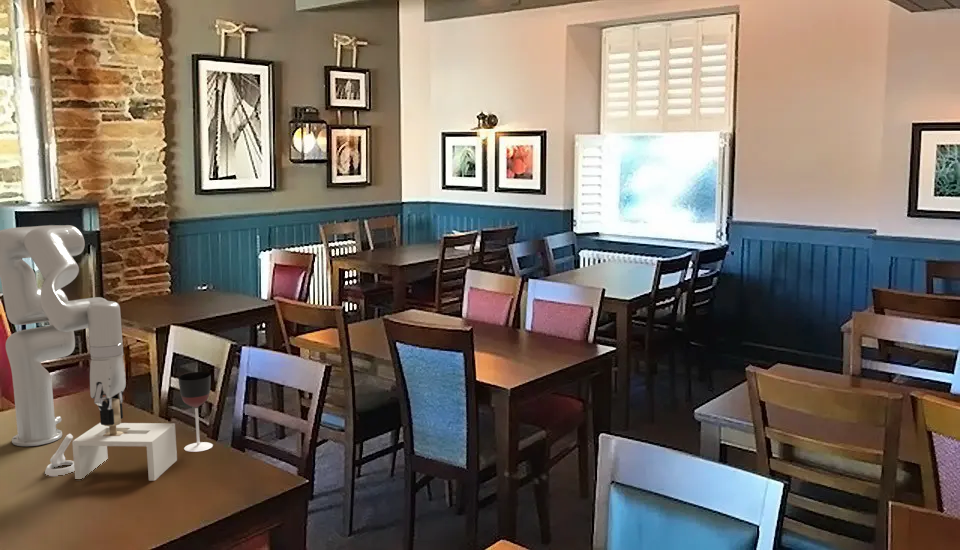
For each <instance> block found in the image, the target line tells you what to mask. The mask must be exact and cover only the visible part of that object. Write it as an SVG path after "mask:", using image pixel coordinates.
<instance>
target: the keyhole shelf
mask: <svg viewBox="0 0 960 550" xmlns="http://www.w3.org/2000/svg"><path fill="white" fill-rule="evenodd" d="M116 431H121V432H123V433H124V434H122V435H120V436H103V435H104V434H106V433H109V432H110V430H109V426H104V425H101V422H99V423H97V424H96V425H94V426H93V427H91V428H90V429H89V430H87V431H85V432H84V433H82V434H81V435H79V436H78V437H76V438H75V439H72V440H71V441H72V442H71V443H72V456H73V461H74V471H75V472H74V479H82V478H83V479H84V478H85V476H86V475H87V474H88V475H90V474H91V473H92V472H94V471H95V470H96V469H97V467H98V466H99V465H100V464H101V465H103V464H104V463H105V462H106V460H107V459H108V460H109V456H108V455H109V454H108V453H109V452H108V447H146V459H147V471H148V472H147V473H148V481H151V482H152V481H157V479H159V477H161V475H163V474H164V473H165V472H166V471H167V470H168V469H169V468H170V467H172V465H173V464H175V463H176V462H177V461H178V453H177V450H178V449H177V437H176V423H171V422H170V423H168V422H166V423H165V422H161V423H160V422H159V423H158V422H157V423H156V422H154V423H153V422H152V423H151V422H121V424H119V425H116ZM108 460H107V461H108ZM104 461H105V462H104ZM103 462H104V463H103ZM102 463H103V464H102ZM101 465H100V466H101ZM100 466H99V467H100ZM99 467H98V468H99ZM95 468H96V469H95ZM94 469H95V470H94ZM93 470H94V471H93ZM91 471H92V472H91ZM90 472H91V473H90ZM89 473H90V474H89ZM88 475H87V476H88ZM87 476H86V477H87ZM83 479H82V480H83Z"/></svg>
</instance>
